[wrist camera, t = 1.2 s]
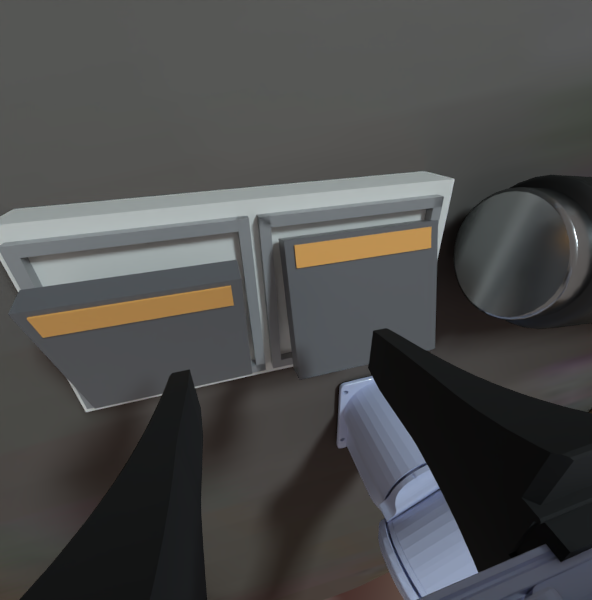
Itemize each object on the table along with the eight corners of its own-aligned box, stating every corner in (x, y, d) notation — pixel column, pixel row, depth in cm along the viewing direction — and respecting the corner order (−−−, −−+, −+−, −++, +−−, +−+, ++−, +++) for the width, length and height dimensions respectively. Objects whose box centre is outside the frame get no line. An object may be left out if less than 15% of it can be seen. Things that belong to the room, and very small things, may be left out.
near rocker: (248, 355, 21) (252, 375, 20) (98, 386, 19) (94, 410, 18) (236, 259, 15) (241, 280, 14) (19, 290, 13) (7, 316, 12)
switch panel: (400, 318, 28) (428, 346, 24) (97, 379, 22) (81, 425, 19) (424, 171, 21) (466, 181, 18) (13, 208, 16) (-33, 233, 13)
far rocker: (421, 340, 22) (436, 349, 20) (293, 368, 20) (300, 380, 18) (422, 219, 19) (439, 220, 18) (278, 238, 17) (284, 240, 16)
